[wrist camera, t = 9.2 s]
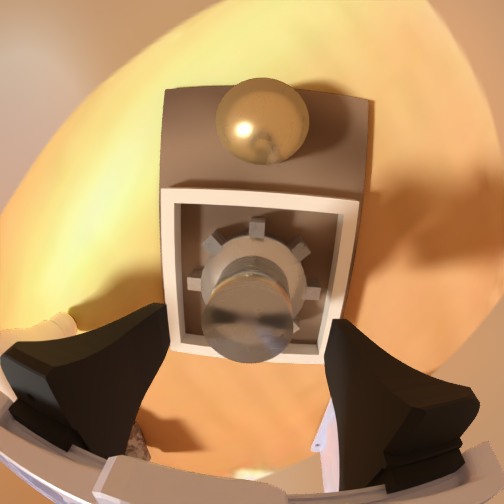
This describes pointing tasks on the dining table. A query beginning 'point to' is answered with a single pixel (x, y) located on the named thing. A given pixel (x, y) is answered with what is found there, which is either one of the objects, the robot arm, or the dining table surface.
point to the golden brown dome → (262, 121)
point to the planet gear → (252, 292)
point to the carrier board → (263, 186)
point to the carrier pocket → (266, 199)
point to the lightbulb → (35, 339)
